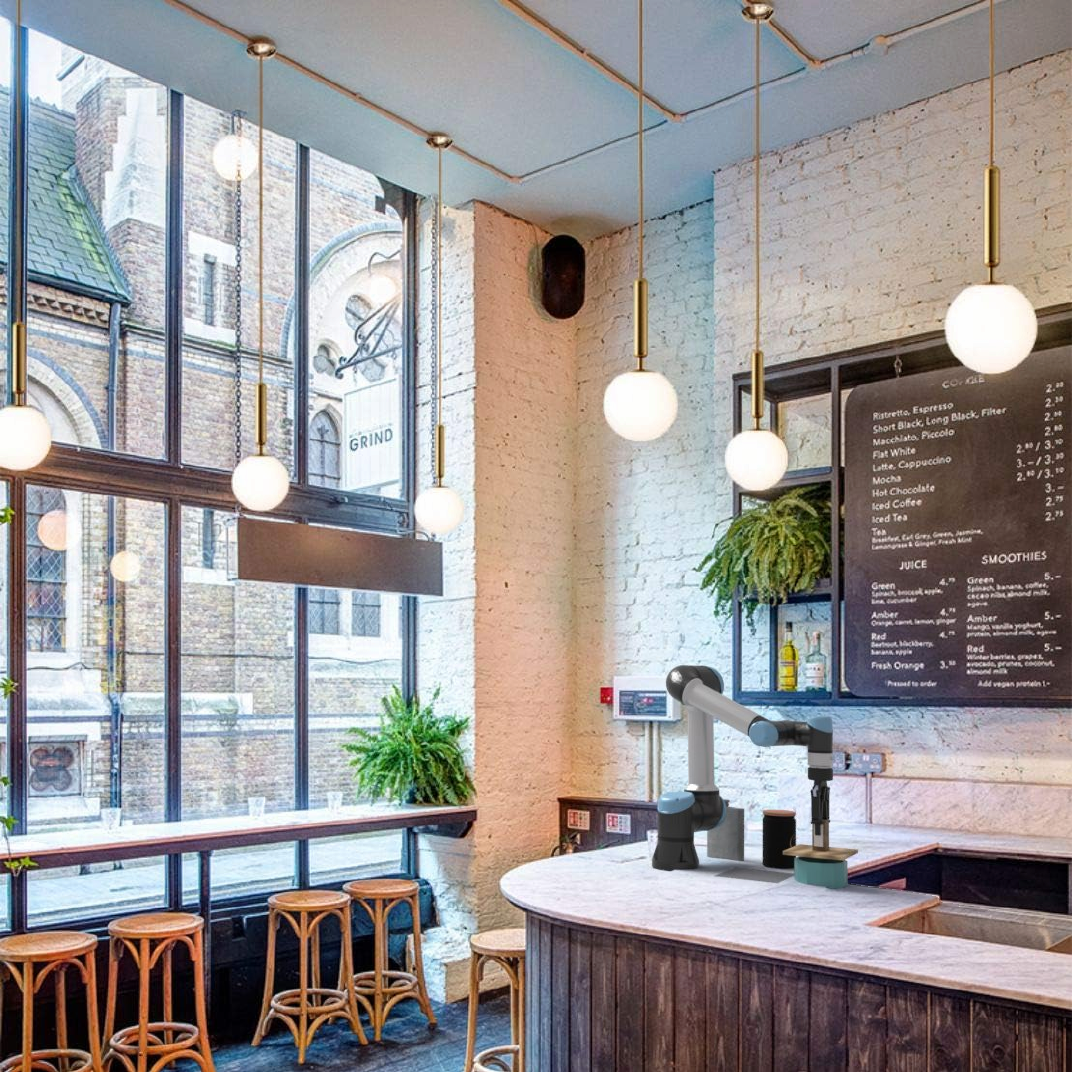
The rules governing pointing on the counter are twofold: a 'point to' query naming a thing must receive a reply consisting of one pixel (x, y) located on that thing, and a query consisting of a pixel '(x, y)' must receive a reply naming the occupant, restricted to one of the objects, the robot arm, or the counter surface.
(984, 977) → the counter surface
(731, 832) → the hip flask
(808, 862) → the teal bowl
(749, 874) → the rubber mat
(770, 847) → the coffee jar
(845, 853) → the oak cover
